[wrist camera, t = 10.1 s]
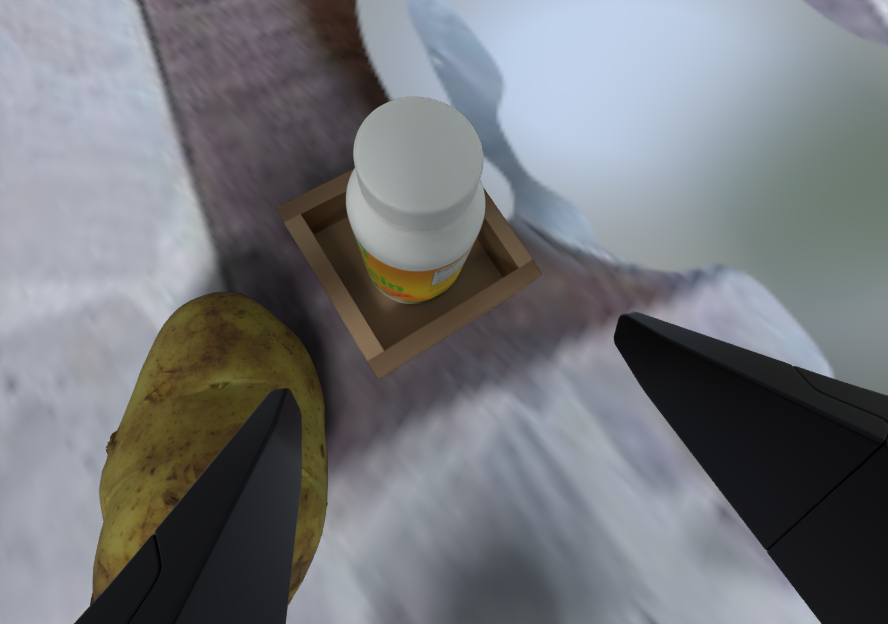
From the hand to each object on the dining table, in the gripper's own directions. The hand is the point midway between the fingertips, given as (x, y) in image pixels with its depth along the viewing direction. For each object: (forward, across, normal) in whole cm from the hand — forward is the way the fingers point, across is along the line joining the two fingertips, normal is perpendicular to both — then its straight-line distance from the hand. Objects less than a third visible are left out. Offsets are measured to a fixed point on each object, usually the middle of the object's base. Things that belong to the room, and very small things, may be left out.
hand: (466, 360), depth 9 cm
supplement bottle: (+12, 0, +3) cm, 12 cm away
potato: (+7, +9, +8) cm, 14 cm away
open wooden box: (+12, 0, +3) cm, 12 cm away
